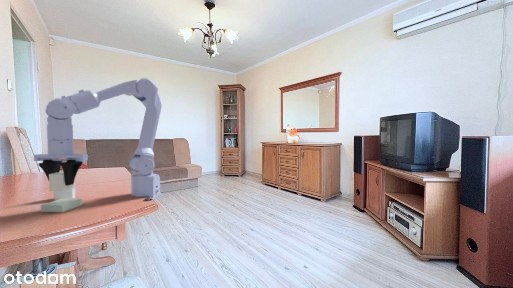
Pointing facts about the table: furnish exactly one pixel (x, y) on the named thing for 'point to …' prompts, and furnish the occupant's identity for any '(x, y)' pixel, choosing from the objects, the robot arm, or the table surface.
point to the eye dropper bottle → (65, 193)
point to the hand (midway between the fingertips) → (62, 184)
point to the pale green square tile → (61, 212)
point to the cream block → (58, 182)
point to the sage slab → (61, 205)
